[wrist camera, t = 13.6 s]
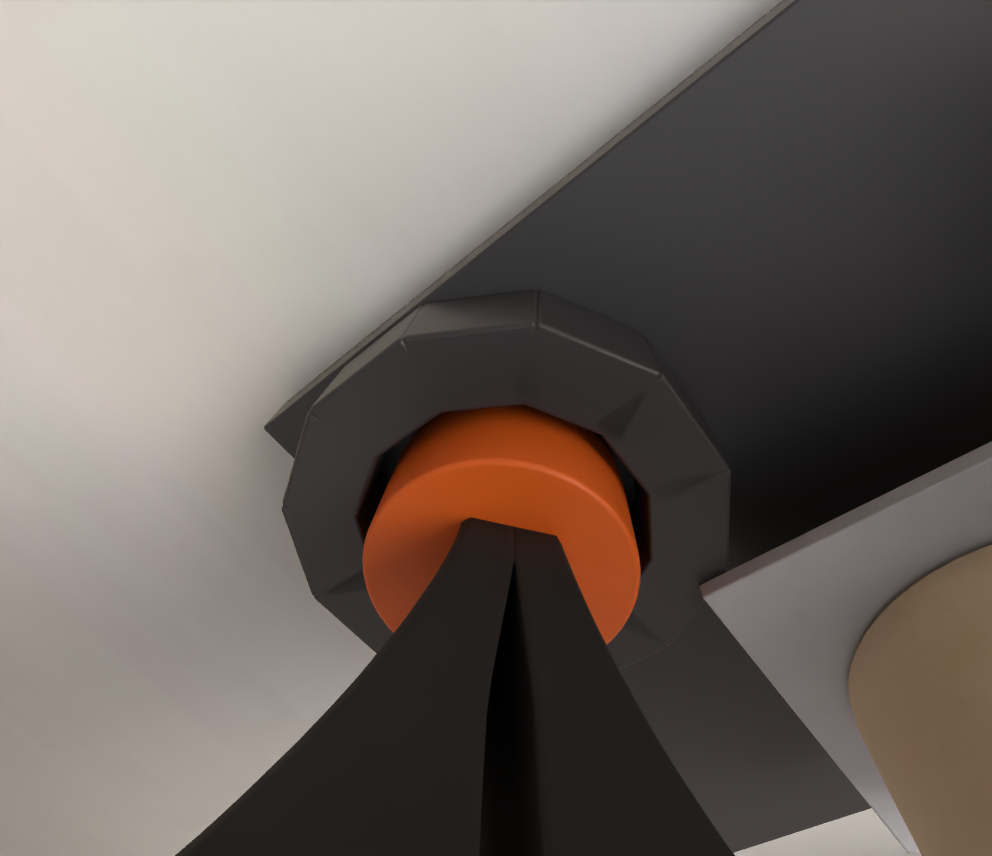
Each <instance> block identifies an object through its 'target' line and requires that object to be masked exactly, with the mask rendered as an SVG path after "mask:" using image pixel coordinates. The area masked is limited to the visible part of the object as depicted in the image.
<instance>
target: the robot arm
mask: <svg viewBox="0 0 992 856" xmlns="http://www.w3.org/2000/svg"><path fill="white" fill-rule="evenodd" d="M175 856H735V855H734V853H733V852H732V851H731V849H730V848H729V846H728V845H727V844H726V842H725V841H724V839H723V838H722V837H721V835H720V834H719V832H718V831H717V829H716V828H715V826H714V825H713V823H712V822H711V820H710V819H709V817H708V816H707V814H706V813H705V811H704V810H703V808H702V807H701V806H700V804H699V803H698V801H697V800H696V798H695V797H694V795H693V794H692V792H691V791H690V789H689V788H688V786H687V784H686V783H685V781H684V780H683V778H682V777H681V775H680V773H679V772H678V770H677V769H676V767H675V766H674V764H673V762H672V761H671V759H670V758H669V756H668V754H667V753H666V751H665V749H664V748H663V746H662V744H661V743H660V741H659V739H658V738H657V736H656V734H655V733H654V731H653V729H652V727H651V726H650V724H649V722H648V721H647V719H646V717H645V715H644V714H643V712H642V710H641V708H640V707H639V705H638V703H637V702H636V700H635V698H634V696H633V694H632V693H631V691H630V689H629V687H628V685H627V683H626V681H625V680H624V678H623V676H622V674H621V672H620V670H619V668H618V666H617V664H616V662H615V660H614V659H613V657H612V655H611V653H610V651H609V649H608V647H607V645H606V643H605V641H604V639H603V637H602V635H601V633H600V631H599V629H598V627H597V625H596V623H595V621H594V618H593V616H592V614H591V612H590V610H589V608H588V606H587V603H586V601H585V599H584V597H583V594H582V592H581V590H580V588H579V585H578V583H577V581H576V578H575V576H574V574H573V571H572V569H571V566H570V564H569V562H568V559H567V557H566V554H565V551H564V549H563V546H562V544H561V542H560V541H559V539H558V537H557V536H556V535H551V534H546V533H542V532H537V531H532V530H528V529H523V528H519V527H513V526H509V525H505V524H500V523H495V522H491V521H486V520H481V519H477V518H472V517H470V518H468V519H466V520H465V521H463V522H461V525H460V528H459V531H458V534H457V536H456V538H455V541H454V543H453V545H452V547H451V549H450V551H449V553H448V554H447V556H446V558H445V560H444V561H443V563H442V565H441V566H440V568H439V570H438V571H437V573H436V575H435V576H434V578H433V579H432V581H431V582H430V584H429V585H428V587H427V588H426V589H425V591H424V592H423V594H422V595H421V597H420V598H419V600H418V601H417V602H416V604H415V605H414V607H413V608H412V610H411V611H410V612H409V614H408V615H407V617H406V618H405V619H404V621H403V622H402V623H401V625H400V626H399V627H398V628H397V630H396V631H395V632H394V633H393V634H392V636H391V637H390V638H389V639H388V641H387V642H386V643H385V644H384V646H383V647H382V648H381V649H380V651H379V652H378V653H377V654H376V655H375V657H374V658H373V659H372V660H371V662H370V663H369V664H368V665H367V667H366V668H365V669H364V670H363V671H362V672H361V674H360V675H359V676H358V677H357V678H356V679H355V680H354V682H353V683H352V684H351V685H350V686H349V687H348V688H347V690H346V691H345V692H344V693H343V694H342V695H341V696H340V697H339V698H338V699H337V701H336V702H335V703H334V704H333V705H332V706H331V707H330V708H329V709H328V710H327V711H326V712H325V713H324V715H323V716H322V717H321V718H320V719H319V720H318V721H317V722H316V723H315V724H314V725H313V726H312V727H311V728H310V729H309V730H308V731H307V732H306V733H305V734H304V735H303V737H302V738H301V739H300V740H299V741H298V742H297V743H296V744H295V745H294V746H293V747H292V748H291V749H290V750H289V751H287V752H286V753H285V754H284V755H283V756H282V757H281V758H280V759H279V760H278V761H277V762H276V763H275V764H274V765H273V766H272V767H271V768H270V769H269V770H268V771H267V772H266V773H265V774H264V775H263V776H262V777H261V778H260V779H259V780H258V781H257V782H256V783H255V784H253V785H252V786H251V787H250V788H249V789H248V790H247V791H246V792H245V793H244V794H243V795H242V796H241V797H240V798H239V799H238V800H237V801H236V802H235V803H234V804H232V805H231V806H230V807H229V808H228V809H227V810H226V811H225V812H224V813H223V814H222V815H221V816H219V817H218V818H217V819H216V820H215V821H214V822H213V823H212V824H211V825H210V826H208V827H207V828H206V829H205V830H204V831H203V832H202V833H201V834H200V835H199V836H197V837H196V838H195V839H194V840H193V841H192V842H190V843H189V844H188V845H187V846H186V847H185V848H183V849H182V850H181V851H180V852H179V853H178V854H176V855H175Z"/></svg>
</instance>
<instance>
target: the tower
mask: <svg viewBox="0 0 992 856" xmlns="http://www.w3.org/2000/svg"><path fill="white" fill-rule="evenodd" d="M989 545H992V441H991V442H989V443H987V444H985V445H983V446H981V447H979V448H977V449H975V450H973V451H971V452H969V453H967V454H965V455H963V456H961V457H959V458H957V459H955V460H953V461H951V462H949V463H947V464H945V465H943V466H941V467H939V468H936V469H934V470H932V471H930V472H928V473H926V474H924V475H922V476H920V477H918V478H916V479H914V480H912V481H910V482H908V483H906V484H904V485H902V486H900V487H898V488H896V489H894V490H892V491H890V492H888V493H886V494H884V495H882V496H880V497H878V498H876V499H874V500H872V501H870V502H868V503H866V504H863V505H861V506H859V507H857V508H855V509H853V510H851V511H849V512H847V513H845V514H843V515H841V516H839V517H837V518H835V519H833V520H831V521H829V522H827V523H825V524H823V525H821V526H819V527H817V528H815V529H813V530H811V531H809V532H807V533H805V534H803V535H801V536H799V537H797V538H795V539H793V540H790V541H788V542H786V543H784V544H782V545H780V546H778V547H776V548H774V549H772V550H770V551H768V552H766V553H764V554H762V555H760V556H758V557H756V558H754V559H752V560H750V561H748V562H746V563H744V564H742V565H740V566H738V567H736V568H734V569H732V570H730V571H728V572H726V573H724V574H722V575H719V576H717V577H715V578H713V579H711V580H709V581H707V582H705V583H703V584H701V585H700V586H699V587H700V590H701V593H702V596H703V599H704V600H705V601H706V602H707V604H708V605H709V606H710V607H711V609H712V610H713V611H714V612H715V613H716V615H717V616H718V617H719V618H720V620H721V621H722V622H723V623H724V625H725V626H726V627H727V628H728V630H729V631H730V632H731V633H732V635H733V636H734V637H735V638H736V640H737V641H738V642H739V643H740V645H741V646H742V647H743V648H744V650H745V651H746V652H747V653H748V655H749V656H750V657H751V658H752V660H753V661H754V662H755V663H756V665H757V666H758V667H759V668H760V669H761V671H762V672H763V673H764V674H765V676H766V677H767V678H768V679H769V681H770V682H771V683H772V684H773V686H774V687H775V688H776V689H777V691H778V692H779V693H780V694H781V696H782V697H783V698H784V699H785V701H786V702H787V703H788V704H789V706H790V707H791V708H792V709H793V711H794V712H795V713H796V714H797V716H798V717H799V718H800V719H801V720H802V722H803V723H804V724H805V725H806V727H807V728H808V729H809V730H810V732H811V733H812V734H813V735H814V737H815V738H816V739H817V740H818V742H819V743H820V744H821V745H822V747H823V748H824V749H825V750H826V752H827V753H828V754H829V755H830V757H831V758H832V759H833V760H834V762H835V763H836V764H837V765H838V767H839V768H840V769H841V770H842V771H843V773H844V774H845V775H846V776H847V778H848V779H849V780H850V781H851V783H852V784H853V785H854V786H855V788H856V789H857V790H858V791H859V793H860V794H861V795H862V796H863V798H864V799H865V800H866V801H867V803H868V804H869V805H870V806H871V808H872V809H873V810H874V811H875V813H876V814H877V815H878V816H879V818H880V819H881V820H882V821H883V823H884V824H885V825H886V826H887V827H888V829H889V830H890V831H891V832H892V834H893V835H894V836H895V837H896V839H897V840H898V841H899V842H900V844H901V845H902V846H903V847H904V849H905V850H906V851H907V852H908V853H914V852H917V851H919V849H918V847H917V845H916V843H915V841H914V839H913V837H912V835H911V833H910V832H909V830H908V828H907V826H906V824H905V822H904V820H903V818H902V816H901V814H900V812H899V810H898V808H897V806H896V804H895V802H894V801H893V799H892V797H891V795H890V793H889V791H888V789H887V787H886V785H885V783H884V781H883V779H882V777H881V775H880V773H879V771H878V769H877V767H876V765H875V763H874V760H873V758H872V756H871V754H870V752H869V750H868V748H867V746H866V744H865V742H864V740H863V738H862V736H861V734H860V732H859V730H858V728H857V725H856V721H855V718H854V715H853V712H852V708H851V704H850V700H849V696H848V678H849V672H850V666H851V663H852V661H853V658H854V655H855V652H856V650H857V648H858V646H859V644H860V642H861V641H862V639H863V637H864V635H865V633H866V632H867V631H868V629H869V628H870V627H871V625H872V624H873V623H874V621H875V620H876V619H877V617H878V616H879V615H880V614H881V613H882V612H883V611H884V610H885V609H886V608H887V607H888V606H889V605H890V604H891V603H892V602H893V601H894V600H895V599H897V598H898V597H899V596H900V595H901V594H903V593H904V592H905V591H906V590H907V589H909V588H910V587H911V586H913V585H914V584H916V583H917V582H919V581H920V580H921V579H923V578H924V577H926V576H927V575H929V574H930V573H932V572H934V571H935V570H937V569H939V568H941V567H943V566H945V565H946V564H948V563H950V562H952V561H954V560H956V559H958V558H960V557H962V556H965V555H967V554H969V553H971V552H974V551H976V550H978V549H981V548H983V547H986V546H989Z"/></svg>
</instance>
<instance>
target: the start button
mask: <svg viewBox="0 0 992 856" xmlns="http://www.w3.org/2000/svg"><path fill="white" fill-rule="evenodd" d="M470 517H472V518H477V519H481V520H486V521H491V522H495V523H500V524H505V525H509V526H513V527H519V528H523V529H528V530H532V531H537V532H542V533H546V534H551V535H556V536H557V537H558V539H559V541H560V542H561V544H562V546H563V549H564V551H565V554H566V557H567V559H568V562H569V564H570V566H571V569H572V571H573V574H574V576H575V578H576V581H577V583H578V585H579V588H580V590H581V592H582V594H583V597H584V599H585V601H586V603H587V606H588V608H589V610H590V612H591V614H592V616H593V618H594V621H595V623H596V625H597V627H598V629H599V631H600V633H601V635H602V637H603V639H604V641H605V643H606V645H607V644H608V643H609V642H610V641H611V640H612V639H613V638H614V637H615V636H616V635H617V634H618V632H619V631H620V630H621V629H622V628H623V626H624V625H625V623H626V621H627V620H628V618H629V616H630V614H631V612H632V610H633V607H634V605H635V602H636V600H637V597H638V592H639V587H640V577H641V567H640V559H639V553H638V548H637V544H636V539H635V535H634V530H633V526H632V521H631V517H630V512H629V508H628V503H627V498H626V494H625V489H624V485H623V481H622V478H621V474H620V471H619V468H618V466H617V464H616V462H615V460H614V458H613V456H612V454H611V453H610V452H609V450H608V449H607V447H606V446H605V444H604V443H603V442H602V441H601V440H600V439H599V438H598V437H597V435H596V434H595V433H594V432H592V431H590V430H587V429H585V428H582V427H580V426H577V425H575V424H572V423H569V422H567V421H564V420H562V419H559V418H557V417H554V416H552V415H549V414H547V413H544V412H542V411H539V410H537V409H534V408H532V407H529V406H527V405H524V404H523V405H513V406H503V407H493V408H483V409H473V410H463V411H454V412H444V413H442V414H441V415H439V416H437V417H436V418H434V419H433V420H431V421H430V422H428V423H427V424H426V425H425V426H424V427H422V428H421V429H420V430H419V431H418V432H417V433H416V434H415V435H414V437H413V438H412V439H411V440H410V441H409V443H408V444H407V446H406V447H405V449H404V450H403V452H402V454H401V456H400V458H399V460H398V462H397V464H396V467H395V469H394V471H393V474H392V476H391V478H390V481H389V483H388V485H387V488H386V490H385V492H384V494H383V497H382V499H381V501H380V504H379V506H378V508H377V511H376V513H375V515H374V517H373V520H372V522H371V524H370V527H369V529H368V532H367V535H366V539H365V542H364V548H363V558H362V561H363V574H364V579H365V583H366V588H367V591H368V594H369V596H370V599H371V601H372V604H373V605H374V607H375V609H376V611H377V612H378V614H379V616H380V617H381V618H382V620H383V621H384V622H385V624H386V625H387V626H388V628H389V629H390V630H391V631H392V632H393V633H394V632H395V631H396V630H397V628H398V627H399V626H400V625H401V623H402V622H403V621H404V619H405V618H406V617H407V615H408V614H409V612H410V611H411V610H412V608H413V607H414V605H415V604H416V602H417V601H418V600H419V598H420V597H421V595H422V594H423V592H424V591H425V589H426V588H427V587H428V585H429V584H430V582H431V581H432V579H433V578H434V576H435V575H436V573H437V571H438V570H439V568H440V566H441V565H442V563H443V561H444V560H445V558H446V556H447V554H448V553H449V551H450V549H451V547H452V545H453V543H454V541H455V538H456V536H457V534H458V531H459V528H460V525H461V522H463V521H465V520H466V519H468V518H470Z"/></svg>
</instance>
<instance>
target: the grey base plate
mask: <svg viewBox="0 0 992 856" xmlns="http://www.w3.org/2000/svg"><path fill="white" fill-rule="evenodd" d="M523 404H524V405H527V406H529V407H532V408H534V409H537V410H539V411H542V412H544V413H547V414H549V415H552V416H554V417H557V418H559V419H562V420H564V421H567V422H569V423H572V424H575V425H577V426H580V427H582V428H585V429H587V430H590V431H592V432H594V433H595V434H596V435H597V437H598V438H599V439H600V440H601V441H602V442H603V443H604V444H605V446H606V447H607V449H608V450H609V452H610V453H611V454H612V456H613V458H614V460H615V462H616V464H617V466H618V468H619V471H620V474H621V478H622V481H623V485H624V489H625V494H626V498H627V503H628V508H629V512H630V517H631V521H632V526H633V530H634V535H635V539H636V544H637V548H638V553H639V559H640V567H641V577H640V587H639V592H638V597H637V600H636V602H635V605H634V607H633V610H632V612H631V614H630V616H629V618H628V620H627V621H626V623H625V625H624V626H623V628H622V629H621V630H620V631H619V632H618V634H617V635H616V636H615V637H614V638H613V639H612V640H611V641H610V642H609V643H608V644H607V647H608V649H609V651H610V653H611V655H612V657H613V659H614V660H615V662H616V664H617V666H618V668H619V670H620V672H621V674H622V676H623V678H624V680H625V681H626V683H627V685H628V687H629V689H630V691H631V693H632V694H633V696H634V698H635V700H636V702H637V703H638V705H639V707H640V708H641V710H642V712H643V714H644V715H645V717H646V719H647V721H648V722H649V724H650V726H651V727H652V729H653V731H654V733H655V734H656V736H657V738H658V739H659V741H660V743H661V744H662V746H663V748H664V749H665V751H666V753H667V754H668V756H669V758H670V759H671V761H672V762H673V764H674V766H675V767H676V769H677V770H678V772H679V773H680V775H681V777H682V778H683V780H684V781H685V783H686V784H687V786H688V788H689V789H690V791H691V792H692V794H693V795H694V797H695V798H696V800H697V801H698V803H699V804H700V806H701V807H702V808H703V810H704V811H705V813H706V814H707V816H708V817H709V819H710V820H711V822H712V823H713V825H714V826H715V828H716V829H717V831H718V832H719V834H720V835H721V837H722V838H723V839H724V841H725V842H726V844H727V845H728V846H729V848H730V849H731V851H732V852H733V853H734V852H737V851H740V850H743V849H746V848H749V847H752V846H755V845H759V844H762V843H765V842H768V841H771V840H774V839H777V838H780V837H783V836H786V835H789V834H793V833H796V832H799V831H802V830H805V829H808V828H811V827H814V826H817V825H820V824H823V823H827V822H830V821H833V820H836V819H839V818H842V817H845V816H848V815H851V814H854V813H857V812H861V811H864V810H867V809H870V808H871V806H870V805H869V804H868V803H867V801H866V800H865V799H864V798H863V796H862V795H861V794H860V793H859V791H858V790H857V789H856V788H855V786H854V785H853V784H852V783H851V781H850V780H849V779H848V778H847V776H846V775H845V774H844V773H843V771H842V770H841V769H840V768H839V767H838V765H837V764H836V763H835V762H834V760H833V759H832V758H831V757H830V755H829V754H828V753H827V752H826V750H825V749H824V748H823V747H822V745H821V744H820V743H819V742H818V740H817V739H816V738H815V737H814V735H813V734H812V733H811V732H810V730H809V729H808V728H807V727H806V725H805V724H804V723H803V722H802V720H801V719H800V718H799V717H798V716H797V714H796V713H795V712H794V711H793V709H792V708H791V707H790V706H789V704H788V703H787V702H786V701H785V699H784V698H783V697H782V696H781V694H780V693H779V692H778V691H777V689H776V688H775V687H774V686H773V684H772V683H771V682H770V681H769V679H768V678H767V677H766V676H765V674H764V673H763V672H762V671H761V669H760V668H759V667H758V666H757V665H756V663H755V662H754V661H753V660H752V658H751V657H750V656H749V655H748V653H747V652H746V651H745V650H744V648H743V647H742V646H741V645H740V643H739V642H738V641H737V640H736V638H735V637H734V636H733V635H732V633H731V632H730V631H729V630H728V628H727V627H726V626H725V625H724V623H723V622H722V621H721V620H720V618H719V617H718V616H717V615H716V613H715V612H714V611H713V610H712V609H711V607H710V606H709V605H708V604H707V602H706V601H705V600H704V599H703V596H702V593H701V590H700V587H699V586H700V585H701V584H703V583H705V582H707V581H709V580H711V579H713V578H715V577H717V576H719V575H722V574H724V573H726V572H728V571H730V570H732V569H734V568H736V567H738V566H740V565H742V564H744V563H746V562H748V561H750V560H752V559H754V558H756V557H758V556H760V555H762V554H764V553H766V552H768V551H770V550H772V549H774V548H776V547H778V546H780V545H782V544H784V543H786V542H788V541H790V540H793V539H795V538H797V537H799V536H801V535H803V534H805V533H807V532H809V531H811V530H813V529H815V528H817V527H819V526H821V525H823V524H825V523H827V522H829V521H831V520H833V519H835V518H837V517H839V516H841V515H843V514H845V513H847V512H849V511H851V510H853V509H855V508H857V507H859V506H861V505H863V504H866V503H868V502H870V501H872V500H874V499H876V498H878V497H880V496H882V495H884V494H886V493H888V492H890V491H892V490H894V489H896V488H898V487H900V486H902V485H904V484H906V483H908V482H910V481H912V480H914V479H916V478H918V477H920V476H922V475H924V474H926V473H928V472H930V471H932V470H934V469H936V468H939V467H941V466H943V465H945V464H947V463H949V462H951V461H953V460H955V459H957V458H959V457H961V456H963V455H965V454H967V453H969V452H971V451H973V450H975V449H977V448H979V447H981V446H983V445H985V444H987V443H989V442H991V441H992V0H783V1H782V2H781V3H779V4H778V5H777V6H776V7H774V8H773V9H772V10H771V11H769V12H768V13H767V14H766V15H764V16H763V17H762V18H761V19H760V20H758V21H757V22H756V23H755V24H753V25H752V26H751V27H750V28H748V29H747V30H746V31H745V32H743V33H742V34H741V35H740V36H739V37H737V38H736V39H735V40H734V41H732V42H731V43H730V44H729V45H727V46H726V47H725V48H724V49H722V50H721V51H720V52H719V53H717V54H716V55H715V56H714V57H713V58H711V59H710V60H709V61H708V62H706V63H705V64H704V65H703V66H701V67H700V68H699V69H698V70H696V71H695V72H694V73H693V74H692V75H690V76H689V77H688V78H687V79H685V80H684V81H683V82H682V83H680V84H679V85H678V86H677V87H675V88H674V89H673V90H672V91H671V92H669V93H668V94H667V95H666V96H664V97H663V98H662V99H661V100H659V101H658V102H657V103H656V104H654V105H653V106H652V107H651V108H649V109H648V110H647V111H646V112H645V113H643V114H642V115H641V116H640V117H638V118H637V119H636V120H635V121H633V122H632V123H631V124H630V125H628V126H627V127H626V128H625V129H624V130H622V131H621V132H620V133H619V134H617V135H616V136H615V137H614V138H612V139H611V140H610V141H609V142H607V143H606V144H605V145H604V146H602V147H601V148H600V149H599V150H598V151H596V152H595V153H594V154H593V155H591V156H590V157H589V158H588V159H586V160H585V161H584V162H583V163H581V164H580V165H579V166H578V167H577V168H575V169H574V170H573V171H572V172H570V173H569V174H568V175H567V176H565V177H564V178H563V179H562V180H560V181H559V182H558V183H557V184H555V185H554V186H553V187H552V188H551V189H549V190H548V191H547V192H546V193H544V194H543V195H542V196H541V197H539V198H538V199H537V200H536V201H534V202H533V203H532V204H531V205H530V206H528V207H527V208H526V209H525V210H523V211H522V212H521V213H520V214H518V215H517V216H516V217H515V218H513V219H512V220H511V221H510V222H508V223H507V224H506V225H505V226H504V227H502V228H501V229H500V230H499V231H497V232H496V233H495V234H494V235H492V236H491V237H490V238H489V239H487V240H486V241H485V242H484V243H483V244H481V245H480V246H479V247H478V248H476V249H475V250H474V251H473V252H471V253H470V254H469V255H468V256H466V257H465V258H464V259H463V260H461V261H460V262H459V263H458V264H457V265H455V266H454V267H453V268H452V269H450V270H449V271H448V272H447V273H445V274H444V275H443V276H442V277H440V278H439V279H438V280H437V281H436V282H434V283H433V284H432V285H431V286H429V287H428V288H427V289H426V290H424V291H423V292H422V293H421V294H419V295H418V296H417V297H416V298H414V299H413V300H412V301H411V302H410V303H408V304H407V305H406V306H405V307H403V308H402V309H401V310H400V311H398V312H397V313H396V314H395V315H393V316H392V317H391V318H390V319H389V320H387V321H386V322H385V323H384V324H382V325H381V326H380V327H379V328H377V329H376V330H375V331H374V332H372V333H371V334H370V335H369V336H367V337H366V338H365V339H364V340H363V341H361V342H360V343H359V344H358V345H356V346H355V347H354V348H353V349H351V350H350V351H349V352H348V353H346V354H345V355H344V356H343V357H342V358H340V359H339V360H338V361H337V362H335V363H334V364H333V365H332V366H330V367H329V368H328V369H327V370H325V371H324V372H323V373H322V374H320V375H319V376H318V377H317V378H316V379H314V380H313V381H312V382H311V383H309V384H308V385H307V386H306V387H304V388H303V389H302V390H301V391H299V392H298V393H297V394H296V395H295V396H293V397H292V398H291V399H290V400H288V401H287V402H286V403H285V404H284V406H283V407H282V408H281V409H280V410H279V411H278V412H277V413H276V414H275V415H274V416H273V417H272V418H271V420H270V421H269V422H268V423H267V424H266V425H265V427H264V429H265V430H266V431H267V432H268V433H269V434H270V435H271V436H272V437H273V438H274V439H275V440H276V441H277V442H278V443H279V444H280V445H281V446H282V447H283V448H284V449H285V450H286V451H287V452H288V453H289V454H290V455H292V456H293V457H294V458H295V459H294V463H293V467H292V470H291V474H290V477H289V481H288V484H287V488H286V492H285V495H284V499H283V506H282V512H283V514H284V517H285V520H286V523H287V526H288V528H289V531H290V534H291V537H292V540H293V542H294V545H295V548H296V551H297V553H298V556H299V559H300V562H301V565H302V567H303V570H304V573H305V576H306V579H307V581H308V584H309V587H310V590H311V592H312V595H313V596H314V597H315V599H316V600H317V601H318V602H320V603H321V604H322V605H323V606H324V607H325V608H326V609H327V610H329V611H330V612H331V613H332V614H333V615H334V616H335V617H336V618H338V619H339V620H340V621H341V622H342V623H343V624H344V625H345V626H347V627H348V628H349V629H350V630H351V631H352V632H353V633H354V634H356V635H357V636H358V637H359V638H360V639H361V640H362V641H363V642H365V643H366V644H367V645H368V646H369V647H370V648H371V649H372V650H374V651H375V652H376V653H378V652H379V651H380V649H381V648H382V647H383V646H384V644H385V643H386V642H387V641H388V639H389V638H390V637H391V636H392V634H393V632H392V631H391V630H390V629H389V628H388V626H387V625H386V624H385V622H384V621H383V620H382V618H381V617H380V616H379V614H378V612H377V611H376V609H375V607H374V605H373V604H372V601H371V599H370V596H369V594H368V591H367V588H366V583H365V579H364V574H363V561H362V558H363V548H364V542H365V539H366V535H367V532H368V529H369V527H370V524H371V522H372V520H373V517H374V515H375V513H376V511H377V508H378V506H379V504H380V501H381V499H382V497H383V494H384V492H385V490H386V488H387V485H388V483H389V481H390V478H391V476H392V474H393V471H394V469H395V467H396V464H397V462H398V460H399V458H400V456H401V454H402V452H403V450H404V449H405V447H406V446H407V444H408V443H409V441H410V440H411V439H412V438H413V437H414V435H415V434H416V433H417V432H418V431H419V430H420V429H421V428H422V427H424V426H425V425H426V424H427V423H428V422H430V421H431V420H433V419H434V418H436V417H437V416H439V415H441V414H442V413H444V412H454V411H463V410H473V409H483V408H493V407H503V406H513V405H523Z"/></svg>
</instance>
